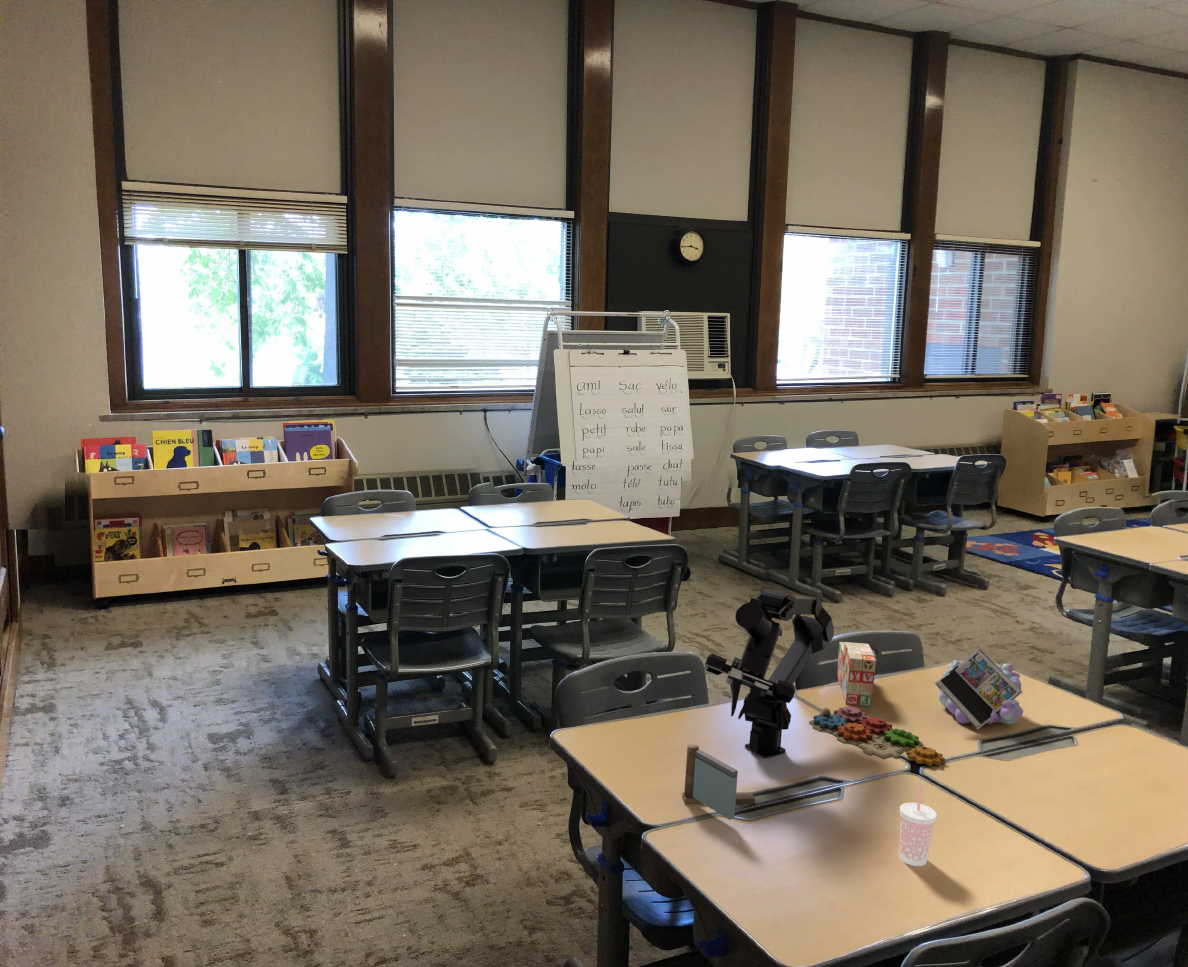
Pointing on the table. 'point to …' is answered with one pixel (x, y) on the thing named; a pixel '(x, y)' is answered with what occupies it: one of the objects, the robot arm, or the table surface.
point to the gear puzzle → (874, 735)
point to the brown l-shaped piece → (689, 781)
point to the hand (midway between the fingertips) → (735, 717)
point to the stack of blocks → (856, 672)
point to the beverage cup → (916, 831)
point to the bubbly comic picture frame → (980, 691)
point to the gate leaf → (715, 784)
